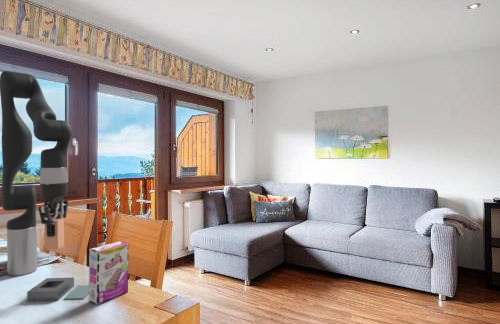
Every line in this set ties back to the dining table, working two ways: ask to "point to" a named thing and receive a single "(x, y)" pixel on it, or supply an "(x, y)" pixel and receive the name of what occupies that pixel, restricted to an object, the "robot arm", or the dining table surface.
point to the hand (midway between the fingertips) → (54, 234)
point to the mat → (78, 292)
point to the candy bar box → (108, 272)
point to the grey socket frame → (50, 289)
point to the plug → (56, 240)
